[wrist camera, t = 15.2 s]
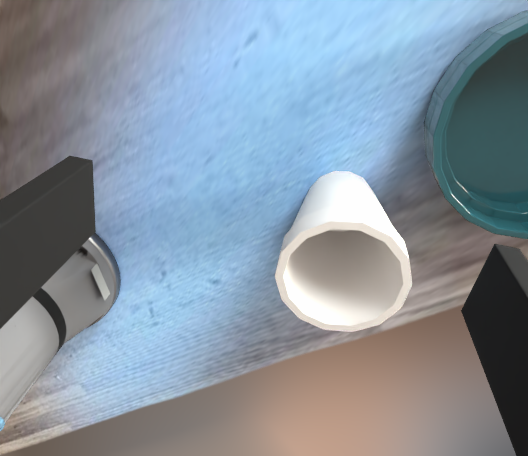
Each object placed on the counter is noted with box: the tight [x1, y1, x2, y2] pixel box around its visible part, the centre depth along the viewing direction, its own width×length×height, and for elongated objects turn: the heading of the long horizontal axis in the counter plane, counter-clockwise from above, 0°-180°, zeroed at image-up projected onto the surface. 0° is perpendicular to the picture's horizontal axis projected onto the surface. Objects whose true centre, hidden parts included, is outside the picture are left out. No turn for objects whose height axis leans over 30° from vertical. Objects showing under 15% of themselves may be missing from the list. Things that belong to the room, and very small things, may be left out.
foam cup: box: [275, 171, 412, 332], centre depth 36 cm, size 10×9×13 cm
